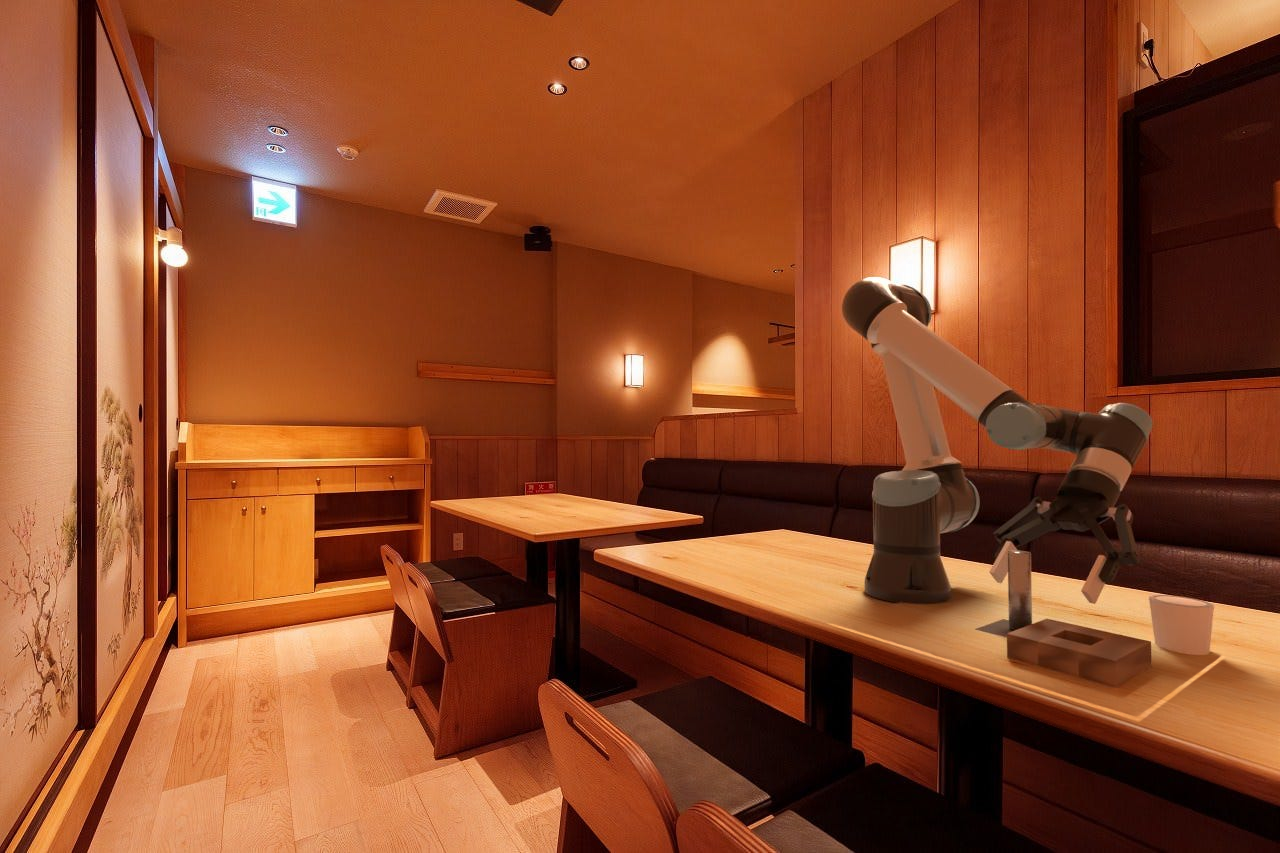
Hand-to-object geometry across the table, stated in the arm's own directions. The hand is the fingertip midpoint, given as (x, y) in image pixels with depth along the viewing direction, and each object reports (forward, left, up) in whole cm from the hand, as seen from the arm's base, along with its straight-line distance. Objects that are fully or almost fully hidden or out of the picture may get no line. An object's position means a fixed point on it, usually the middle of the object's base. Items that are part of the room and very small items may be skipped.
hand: (1038, 587), depth 90 cm
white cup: (+14, +9, -8) cm, 19 cm away
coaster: (-2, -2, -7) cm, 8 cm away
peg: (-2, -2, -7) cm, 7 cm away
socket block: (+8, -9, -7) cm, 14 cm away
